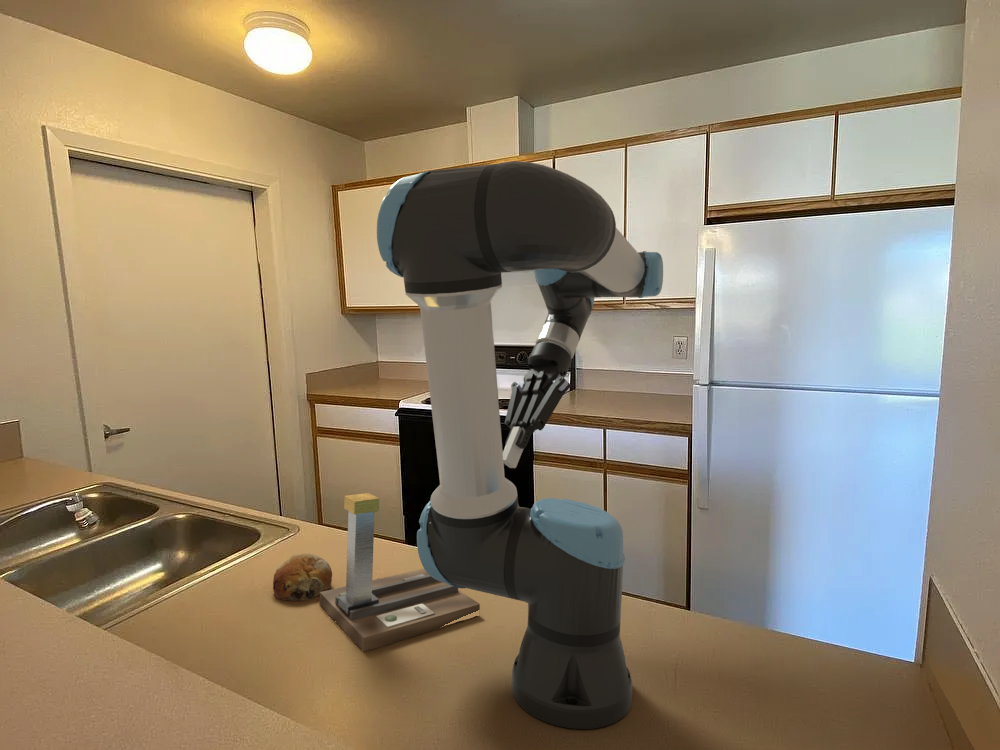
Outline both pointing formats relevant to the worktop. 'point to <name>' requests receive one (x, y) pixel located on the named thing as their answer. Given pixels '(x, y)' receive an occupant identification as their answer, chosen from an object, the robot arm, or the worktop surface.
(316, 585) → the bread roll
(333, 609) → the switch board
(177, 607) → the worktop surface
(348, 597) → the lever
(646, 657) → the worktop surface
